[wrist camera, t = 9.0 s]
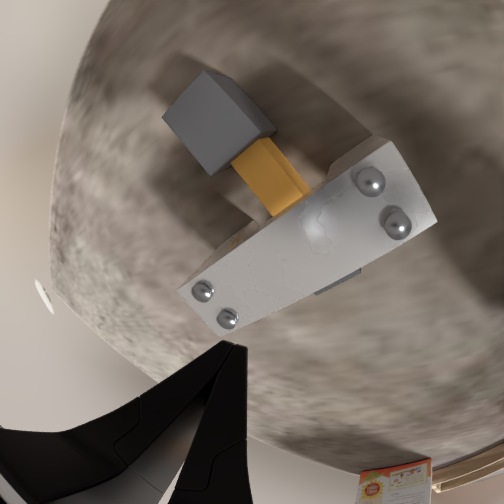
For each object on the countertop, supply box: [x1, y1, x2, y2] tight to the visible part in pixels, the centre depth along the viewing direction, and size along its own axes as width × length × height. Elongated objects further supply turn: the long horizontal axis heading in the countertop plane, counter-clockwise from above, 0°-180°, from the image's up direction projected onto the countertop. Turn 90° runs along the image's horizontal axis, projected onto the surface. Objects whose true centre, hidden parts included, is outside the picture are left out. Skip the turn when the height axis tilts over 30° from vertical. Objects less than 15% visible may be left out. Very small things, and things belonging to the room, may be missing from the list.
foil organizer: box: [432, 443, 504, 493], centre depth 23 cm, size 13×30×4 cm, turn 132°
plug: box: [162, 70, 361, 295], centre depth 17 cm, size 15×4×4 cm, turn 41°
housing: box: [177, 135, 438, 337], centre depth 16 cm, size 4×14×7 cm, turn 132°
